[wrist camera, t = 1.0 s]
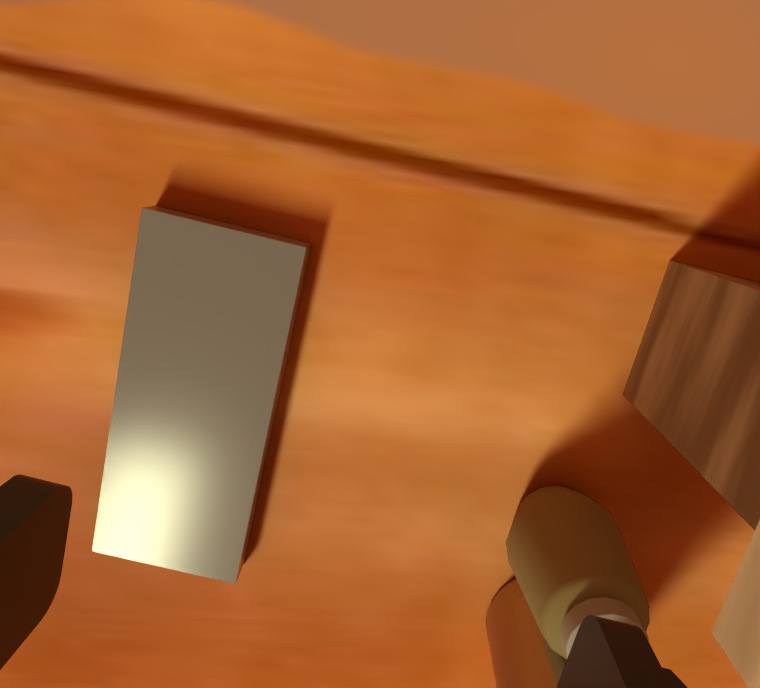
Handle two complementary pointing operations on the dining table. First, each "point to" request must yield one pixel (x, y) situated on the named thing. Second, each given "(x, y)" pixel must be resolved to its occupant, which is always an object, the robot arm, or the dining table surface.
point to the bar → (743, 617)
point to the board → (196, 391)
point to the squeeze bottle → (572, 565)
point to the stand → (705, 378)
